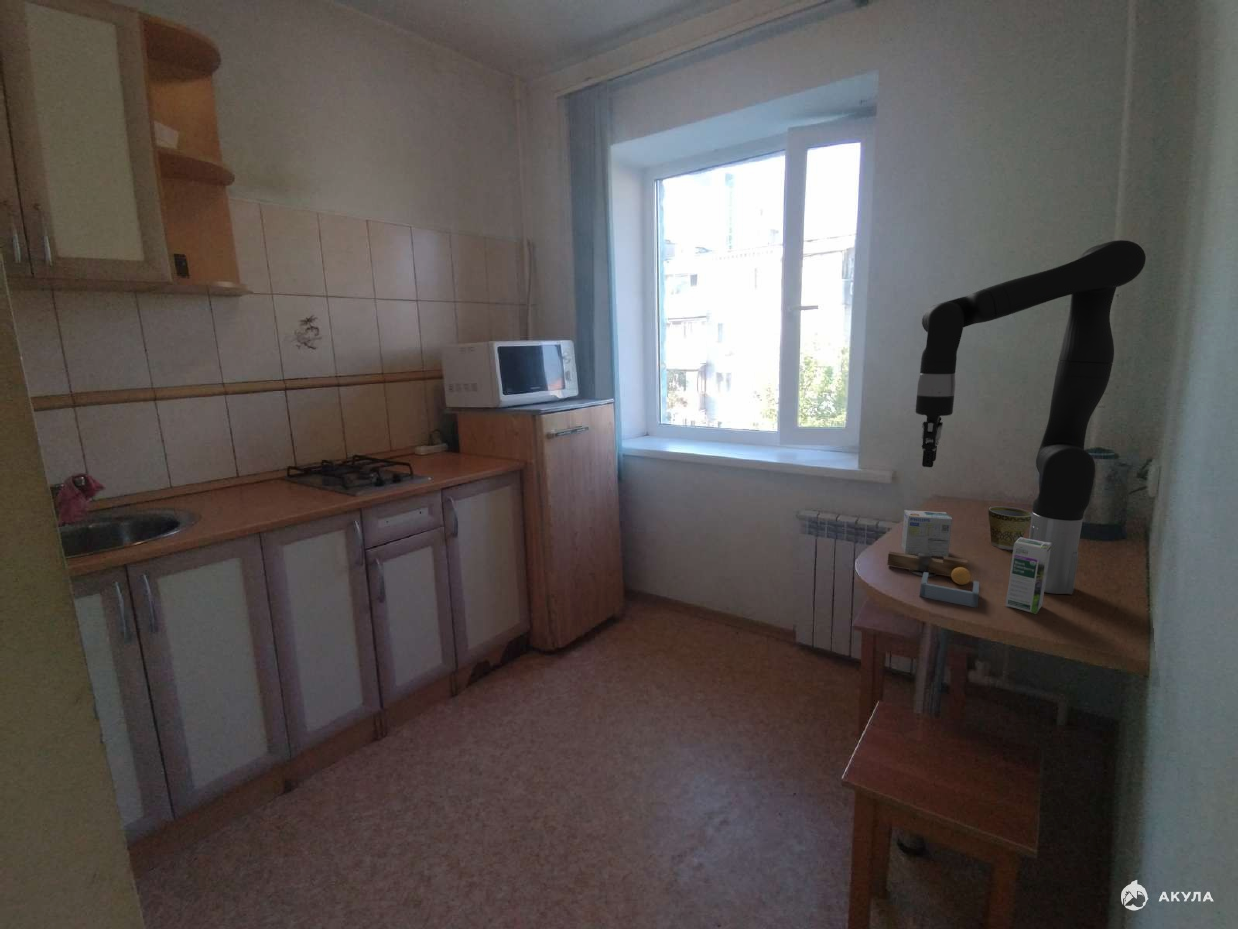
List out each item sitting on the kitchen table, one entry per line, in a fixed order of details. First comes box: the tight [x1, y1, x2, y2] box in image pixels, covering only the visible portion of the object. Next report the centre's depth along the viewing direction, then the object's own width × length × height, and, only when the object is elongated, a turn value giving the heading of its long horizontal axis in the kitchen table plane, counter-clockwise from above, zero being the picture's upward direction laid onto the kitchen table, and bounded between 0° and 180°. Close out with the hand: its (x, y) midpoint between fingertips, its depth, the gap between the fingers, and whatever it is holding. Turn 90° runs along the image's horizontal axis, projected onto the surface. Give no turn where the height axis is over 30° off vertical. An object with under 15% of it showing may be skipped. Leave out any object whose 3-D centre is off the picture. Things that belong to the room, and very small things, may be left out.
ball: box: [950, 567, 972, 586], centre depth 135 cm, size 4×4×4 cm
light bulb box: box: [901, 509, 953, 558], centre depth 156 cm, size 11×7×11 cm, turn 74°
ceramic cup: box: [987, 505, 1032, 551], centre depth 161 cm, size 13×10×10 cm
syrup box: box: [1005, 536, 1051, 615], centre depth 123 cm, size 6×6×14 cm
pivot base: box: [909, 569, 938, 578], centre depth 143 cm, size 6×6×1 cm
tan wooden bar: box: [886, 550, 968, 577], centre depth 142 cm, size 17×3×4 cm, turn 58°
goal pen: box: [919, 572, 980, 609], centre depth 130 cm, size 11×8×3 cm
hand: (928, 463), depth 135 cm, fingers open, 8 cm apart
